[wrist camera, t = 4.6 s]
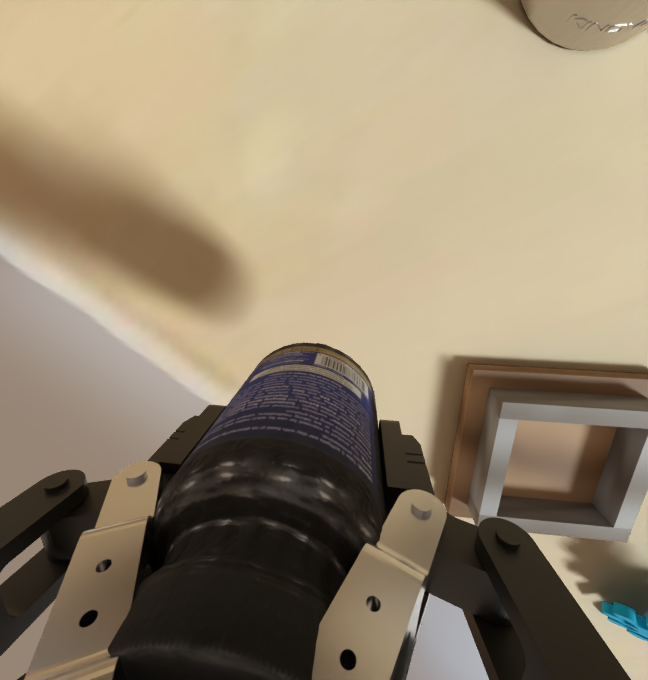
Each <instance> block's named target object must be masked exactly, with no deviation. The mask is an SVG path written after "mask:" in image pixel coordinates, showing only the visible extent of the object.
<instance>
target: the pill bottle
mask: <svg viewBox="0 0 648 680" xmlns="http://www.w3.org/2000/svg"><path fill="white" fill-rule="evenodd" d="M386 519H387V518H386V507H385V496H384V487H383V475H382V465H381V453H380V442H379V431H378V421H377V411H376V402H375V395H374V391H373V388H372V385H371V382H370V380H369V378H368V376H367V375H366V373H365V372H364V371H363V370H362V368H361V367H360V366H359V365H358V364H357V363H356V362H355V361H354V360H353V359H352V358H351V357H349V356H348V355H346V354H344V353H343V352H341V351H339V350H337V349H334V348H332V347H330V346H327V345H324V344H319V343H317V344H314V343H296V344H291V345H288V346H284V347H282V348H279V349H277V350H275V351H274V352H272V353H270V354H269V355H268V356H266V357H265V358H264V359H263V360H262V361H261V362H260V363H259V364H258V366H257V367H256V368H255V370H254V371H253V372H252V374H251V375H250V376H249V377H248V379H247V380H246V381H245V383H244V384H243V385H242V387H241V388H240V389H239V391H238V392H237V393H236V395H235V396H234V397H233V399H232V400H231V401H230V403H229V404H228V405H227V407H226V408H225V409H224V411H223V412H222V413H221V415H220V416H219V417H218V418H217V420H216V421H215V422H214V424H213V425H212V426H211V428H210V429H209V430H208V432H207V433H206V434H205V436H204V437H203V438H202V440H201V441H200V442H199V444H198V445H197V446H196V448H195V449H194V450H193V452H192V453H191V454H190V456H189V457H188V458H187V460H186V461H185V462H184V463H183V465H182V466H181V467H180V469H179V470H178V471H177V473H176V474H175V475H174V477H173V478H172V479H171V480H170V481H169V482H168V484H167V487H166V488H165V489H164V490H163V492H162V493H161V497H160V499H159V501H158V502H157V507H156V509H155V514H154V539H155V552H156V559H157V565H158V571H156V572H154V573H153V574H152V575H150V576H149V577H148V578H147V579H145V580H143V581H142V582H141V584H140V585H139V586H138V587H137V590H136V594H135V596H134V600H133V602H132V606H131V609H130V611H129V613H128V615H127V617H126V618H125V620H124V621H123V622H122V624H121V626H120V628H119V630H118V632H117V633H116V635H115V637H114V638H113V640H112V642H111V643H110V645H109V647H108V653H110V654H111V655H120V660H121V663H122V667H123V671H124V675H125V677H126V680H312V673H313V672H312V671H313V665H314V658H315V650H316V641H317V637H318V633H319V624H320V622H321V621H322V619H323V617H324V615H325V614H326V612H327V610H328V608H329V607H330V605H331V603H332V601H333V599H334V598H335V596H336V594H337V592H338V591H339V589H340V587H341V585H342V584H343V582H344V580H345V578H346V577H347V575H348V573H349V571H350V570H351V568H352V566H353V564H354V563H355V561H356V559H357V557H358V556H359V554H360V552H361V550H362V549H363V547H364V546H365V544H366V543H367V542H370V543H372V544H374V543H376V542H378V541H379V540H380V535H381V532H382V527H383V525H384V523H385V521H386ZM345 670H347V669H345Z"/></svg>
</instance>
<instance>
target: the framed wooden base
mask: <svg viewBox="0 0 648 680" xmlns="http://www.w3.org/2000/svg"><path fill="white" fill-rule="evenodd" d="M647 490H648V374H644V373H626V372H608V371H590V370H572V369H554V368H536V367H518V366H500V365H482V364H468V366H467V372H466V378H465V384H464V390H463V396H462V402H461V408H460V414H459V420H458V426H457V432H456V438H455V444H454V450H453V456H452V462H451V468H450V474H449V480H448V486H447V492H446V498H445V507H446V510H447V512H448V513H449V514H450V515H452V516H457V517H467V518H473V520H474V522H475V525H476V526H478V527H479V524H480V522H481V521H482V520H484V519H486V518H491V517H496V518H502V519H505V520H508V521H510V522H512V523H514V524H516V525H518V526H519V527H521V528H522V529H523V530H524V531H526V532H527V533H537V534H547V535H557V536H567V537H578V538H588V539H598V540H608V541H618V542H627V541H628V538H629V536H630V533H631V530H632V528H633V525H634V523H635V520H636V518H637V515H638V513H639V510H640V507H641V505H642V502H643V500H644V497H645V495H646V492H647Z"/></svg>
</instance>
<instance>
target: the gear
mask: <svg viewBox="0 0 648 680" xmlns="http://www.w3.org/2000/svg"><path fill="white" fill-rule="evenodd" d="M601 613H603V614H605V615H606V616H608V620H609V621H611V622H613V623H615V624H617V625H619V626H622V627H624V628H627V631H628V632H629V633H631V634H632V635H634V636H636V637H638V638H640V639H643V640H646V641H648V612H646V618H645V617H642V616H640V615H638V614H637V613H636V611H635V610H634V609H632V608H630V607H628V606H626V605H623V604H620V603H616V602H614V605H612V604H610V603H607V602H602V605H601Z"/></svg>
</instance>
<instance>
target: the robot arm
mask: <svg viewBox="0 0 648 680" xmlns="http://www.w3.org/2000/svg"><path fill="white" fill-rule="evenodd" d="M520 1H521V3H522V5H523V8H524V10H525V12H526V14H527V17H528V19H529V20H530V21H531V22H532V24H533V25H534V26H535V28H536V29H537V30H538V31H539V33H541V34H542V35H543V36H545V37H546V38H547V39H549V40H550V41H551V42H553V43H555V44H558V45H560V46H563V47H565V48H568V49H575V50H585V51H589V50H596V49H603V48H608V47H611V46H613V45H616V44H619V43H621V42H624V41H626V40H628V39H630V38H632V37H633V36H635V35H637V34H638V33H640V32H642V31H643V30H645V29H646V28H648V0H520ZM226 407H227V406H220V405H209V406H208V407H207V408H206V409H205V410H204V411H203V412H202V413H201V415H200V416H194V417H192V418H190V419H188V420H187V421H185V422H183V423H182V425H181V426H180V427H179V428H178V429H177V430H176V432H174V433H173V434H172V435H171V436H170V438H169V439H167V441H166V442H165V443H164V444H163V445H162V446H161V447H160V448H159V449H158V450H157V451H156V452H155V453H154V455H152V457H151V458H150V459H149V460H148V461H143V462H138V463H134V464H131V465H129V466H127V467H125V468H123V469H122V470H120V471H119V472H118V473H117V474H116V475H115V476H114V477H113V479H112V480H107V481H99V482H92V483H87V481H86V477H85V474H84V473H83V472H82V471H79V470H66V471H61V472H58V473H55V474H52V475H50V476H48V477H46V478H44V479H42V480H41V481H39V482H38V483H36V484H35V485H33V486H32V487H30V488H29V489H27V490H26V491H24V492H23V493H21V494H20V495H18V496H17V497H15V498H14V499H12V500H11V501H9V502H8V503H6V504H5V505H3V506H2V507H0V572H1V571H2V569H3V568H4V567H5V566H6V565H7V564H8V563H9V562H10V561H11V560H12V559H13V558H15V557H16V556H17V555H19V554H20V553H21V552H22V551H23V550H25V549H26V548H27V547H28V546H29V545H31V544H32V543H33V542H34V541H36V540H37V539H38V538H39V537H41V539H42V543H43V546H44V548H43V549H42V550H41V551H39V552H38V553H37V554H36V555H35V556H34V557H32V558H31V559H30V560H29V561H28V562H27V563H26V564H24V565H23V566H22V567H21V568H20V569H19V570H17V571H16V572H15V573H14V574H13V575H12V576H10V577H9V578H8V579H7V580H6V581H5V582H4V583H2V584H1V585H0V656H1V655H2V654H3V653H4V652H5V651H6V650H7V649H8V648H9V647H10V646H11V645H12V643H14V641H15V640H16V639H17V638H18V637H19V636H20V635H21V634H22V633H23V632H24V631H25V630H26V629H27V628H28V627H29V626H30V625H31V624H32V623H33V622H34V621H35V620H36V619H37V617H39V615H40V614H41V613H42V612H43V611H44V610H45V609H46V608H47V607H48V606H49V605H50V604H51V603H52V602H53V601H54V600H55V599H56V600H55V602H54V605H53V608H52V610H51V612H50V615H49V618H48V620H47V623H46V626H45V628H44V630H43V633H42V636H41V638H40V641H39V643H38V646H37V648H36V651H35V653H34V656H33V659H32V661H31V664H30V666H29V669H28V672H27V673H26V674H24V675H23V676H21V677H20V678H19V679H17V680H126V677H125V675H124V671H123V667H122V663H121V660H120V655H111V654H110V653H108V647H109V645H110V643H111V642H112V640H113V638H114V637H115V635H116V633H117V632H118V630H119V628H120V626H121V624H122V622H123V621H124V620H125V618H126V617H127V615H128V613H129V611H130V609H131V606H132V602H133V600H134V596H135V594H136V590H137V587H138V586H139V585H140V584H141V582H142V581H143V580H145V579H147V578H148V577H149V576H150V575H152V574H153V573H154V572H156V571H158V565H157V559H156V552H155V539H154V514H155V509H156V507H157V502H158V501H159V499H160V497H161V493H162V492H163V490H164V489H165V488H166V487H167V484H168V482H169V481H170V480H171V479H172V478H173V477H174V475H175V474H176V473H177V471H178V470H179V469H180V467H181V466H182V465H183V463H184V462H185V461H186V460H187V458H188V457H189V456H190V454H191V453H192V452H193V450H194V449H195V448H196V446H197V445H198V444H199V442H200V441H201V440H202V438H203V437H204V436H205V434H206V433H207V432H208V430H209V429H210V428H211V426H212V425H213V424H214V422H215V421H216V420H217V418H218V417H219V416H220V415H221V413H222V412H223V411H224V409H225V408H226ZM378 431H379V442H380V453H381V465H382V475H383V487H384V496H385V507H386V518H387V519H386V521H385V523H384V525H383V527H382V532H381V535H380V540H379V541H378V542H376V543H374V544H372V543H370V542H367V543H366V544H365V546H364V547H363V549H362V550H361V552H360V554H359V556H358V557H357V559H356V561H355V563H354V564H353V566H352V568H351V570H350V571H349V573H348V575H347V577H346V578H345V580H344V582H343V584H342V585H341V587H340V589H339V591H338V592H337V594H336V596H335V598H334V599H333V601H332V603H331V605H330V607H329V608H328V610H327V612H326V614H325V615H324V617H323V619H322V621H321V622H320V624H319V633H318V637H317V641H316V650H315V658H314V665H313V671H312V672H313V673H312V680H406V678H407V674H408V670H409V666H410V662H411V658H412V654H413V651H414V647H415V644H416V641H417V637H418V634H419V631H420V627H421V624H422V621H423V617H424V614H425V611H426V608H427V604H428V601H429V598H430V594H432V595H434V596H437V597H438V598H440V599H443V600H445V601H447V602H449V603H451V604H453V605H455V606H457V607H459V608H461V609H463V612H464V615H465V617H466V620H467V622H468V625H469V628H470V630H471V633H472V636H473V638H474V641H475V643H476V646H477V649H478V651H479V654H480V656H481V659H482V662H483V664H484V667H485V669H486V672H487V674H488V677H489V680H631V679H630V678H629V676H628V675H627V673H626V672H625V670H624V669H623V668H622V666H621V665H620V663H619V662H618V660H617V659H616V658H615V656H614V655H613V653H612V652H611V650H610V649H609V648H608V646H607V645H606V643H605V642H604V640H603V639H602V638H601V636H600V635H599V633H598V632H597V630H596V629H595V628H594V626H593V625H592V623H591V622H590V620H589V619H588V618H587V616H586V615H585V613H584V612H583V610H582V609H581V608H580V606H579V605H578V603H577V602H576V600H575V599H574V598H573V596H572V595H571V593H570V592H569V590H568V589H567V588H566V586H565V585H564V583H563V582H562V580H561V579H560V578H559V576H558V575H557V573H556V572H555V570H554V569H553V568H552V566H551V565H550V563H549V562H548V560H547V559H546V558H545V556H544V555H543V553H542V552H541V550H540V549H539V548H538V546H537V545H536V543H535V542H534V540H533V539H532V538H531V537H530V535H529V534H528V533H527V532H526V531H524V530H523V529H522V528H521V527H519V526H518V525H516V524H514V523H512V522H510V521H508V520H505V519H502V518H496V517H491V518H486V519H484V520H482V521H481V522H480V524H479V527H478V526H476V525H473V524H470V523H468V522H465V521H462V520H460V519H457V518H455V517H454V516H452V515H450V514H449V513H448V512H446V509H445V507H444V505H443V504H442V502H441V501H440V500H439V499H438V498H437V497H435V495H434V491H433V488H432V484H431V481H430V477H429V474H428V470H427V467H426V465H425V459H424V456H423V452H422V449H421V445H420V444H419V443H418V441H417V440H416V439H415V438H414V437H413V436H411V435H402V434H401V429H400V424H399V421H390V420H380V422H379V430H378ZM345 669H347V670H345Z"/></svg>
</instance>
